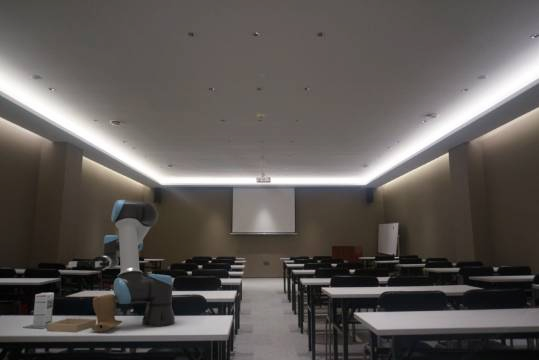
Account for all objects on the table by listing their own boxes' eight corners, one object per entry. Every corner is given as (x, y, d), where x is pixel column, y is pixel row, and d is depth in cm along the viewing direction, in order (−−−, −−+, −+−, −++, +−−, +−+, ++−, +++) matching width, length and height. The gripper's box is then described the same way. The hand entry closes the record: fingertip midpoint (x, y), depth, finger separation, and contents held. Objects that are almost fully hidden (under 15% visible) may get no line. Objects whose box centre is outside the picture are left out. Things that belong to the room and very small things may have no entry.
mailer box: (112, 320, 190) (112, 314, 190) (76, 332, 164) (77, 324, 165) (85, 319, 192) (86, 313, 193) (46, 330, 167) (47, 323, 168)
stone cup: (100, 326, 177) (100, 293, 179) (125, 324, 176) (125, 291, 179) (83, 334, 162) (84, 297, 164) (111, 331, 161) (111, 295, 164)
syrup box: (44, 326, 175) (47, 293, 177) (32, 326, 175) (35, 293, 177) (51, 323, 180) (54, 292, 183) (39, 323, 180) (42, 292, 183)
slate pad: (61, 323, 182) (61, 323, 182) (43, 328, 171) (43, 327, 171) (41, 323, 184) (41, 322, 184) (22, 327, 173) (22, 327, 173)
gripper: (123, 269, 212) (106, 272, 191) (79, 269, 212) (57, 272, 191) (124, 255, 213) (107, 256, 192) (80, 256, 213) (59, 257, 192)
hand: (82, 264), depth 192 cm, fingers open, 13 cm apart
